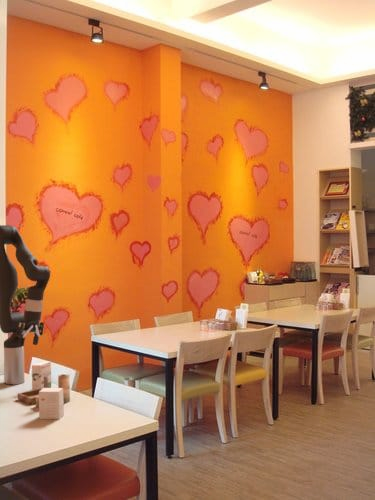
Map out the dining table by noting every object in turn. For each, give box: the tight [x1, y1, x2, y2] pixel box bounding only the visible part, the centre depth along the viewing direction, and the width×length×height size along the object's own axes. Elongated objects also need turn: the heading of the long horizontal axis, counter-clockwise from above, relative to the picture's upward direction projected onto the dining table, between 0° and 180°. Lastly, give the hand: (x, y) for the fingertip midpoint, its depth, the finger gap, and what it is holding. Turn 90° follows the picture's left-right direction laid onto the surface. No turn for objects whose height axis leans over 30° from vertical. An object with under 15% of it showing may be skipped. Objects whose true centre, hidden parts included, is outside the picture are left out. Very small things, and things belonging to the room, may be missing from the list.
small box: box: [38, 387, 65, 420], centre depth 215 cm, size 8×6×10 cm
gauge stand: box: [35, 376, 48, 408], centre depth 229 cm, size 6×6×12 cm
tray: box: [17, 389, 42, 406], centre depth 239 cm, size 11×11×2 cm
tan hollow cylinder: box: [57, 373, 71, 404], centre depth 236 cm, size 5×5×11 cm
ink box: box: [31, 361, 52, 391], centre depth 256 cm, size 9×5×12 cm, turn 160°
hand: (28, 345), depth 254 cm, fingers open, 8 cm apart
